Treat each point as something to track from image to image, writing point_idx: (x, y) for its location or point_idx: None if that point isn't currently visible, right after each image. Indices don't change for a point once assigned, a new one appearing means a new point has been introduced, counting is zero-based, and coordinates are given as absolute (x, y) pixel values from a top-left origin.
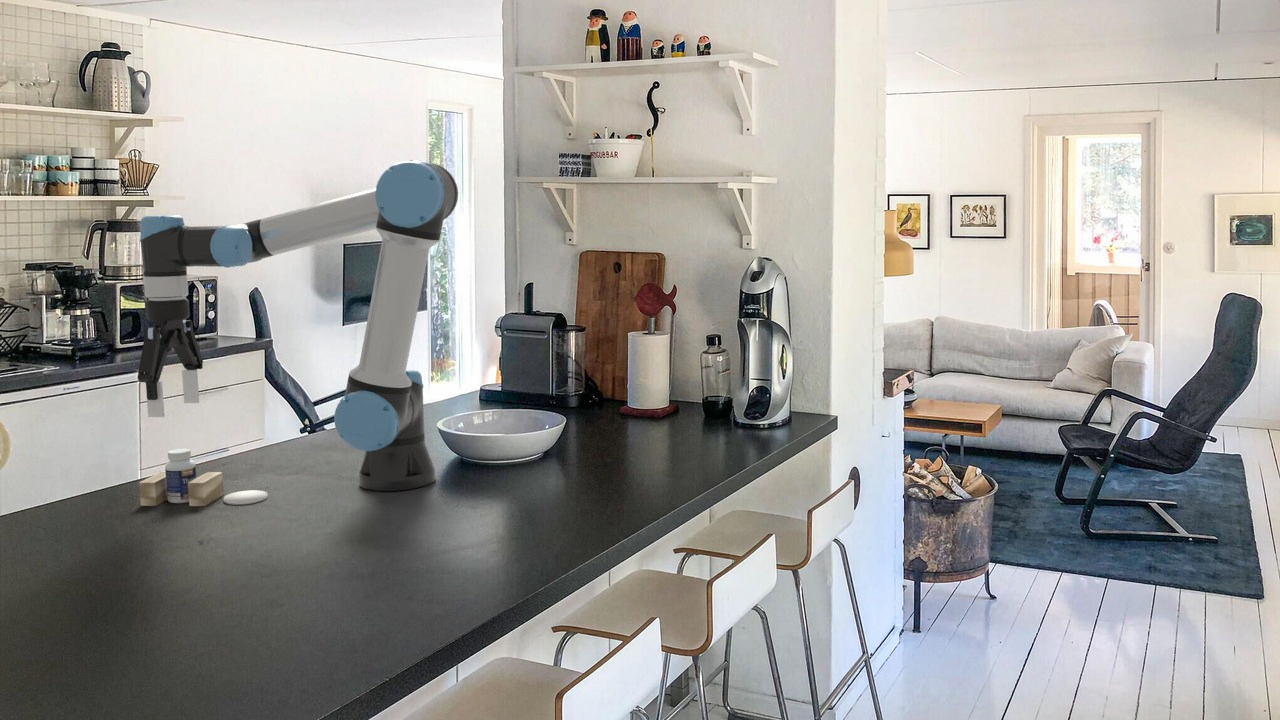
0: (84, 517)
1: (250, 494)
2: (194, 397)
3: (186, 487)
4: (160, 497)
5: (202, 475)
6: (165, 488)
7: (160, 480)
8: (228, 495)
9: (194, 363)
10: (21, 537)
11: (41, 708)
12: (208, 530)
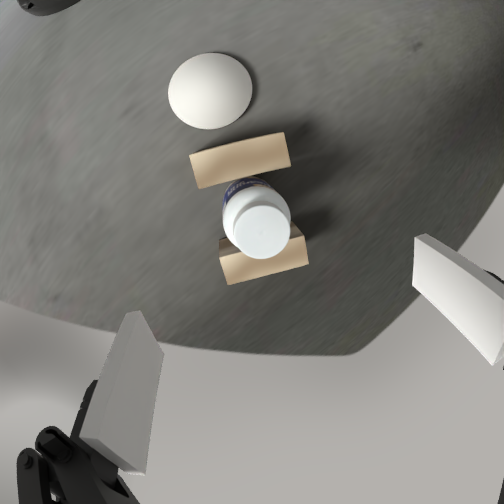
0: (360, 277)
1: (198, 87)
2: (139, 336)
3: (268, 184)
4: None
5: (227, 178)
6: None
7: None
8: (216, 123)
9: (88, 479)
10: None
11: None
12: (381, 55)
